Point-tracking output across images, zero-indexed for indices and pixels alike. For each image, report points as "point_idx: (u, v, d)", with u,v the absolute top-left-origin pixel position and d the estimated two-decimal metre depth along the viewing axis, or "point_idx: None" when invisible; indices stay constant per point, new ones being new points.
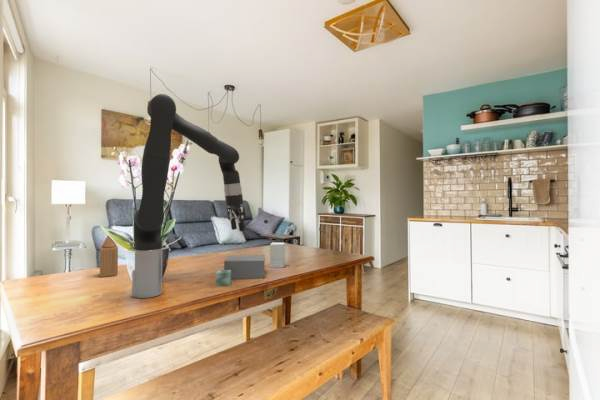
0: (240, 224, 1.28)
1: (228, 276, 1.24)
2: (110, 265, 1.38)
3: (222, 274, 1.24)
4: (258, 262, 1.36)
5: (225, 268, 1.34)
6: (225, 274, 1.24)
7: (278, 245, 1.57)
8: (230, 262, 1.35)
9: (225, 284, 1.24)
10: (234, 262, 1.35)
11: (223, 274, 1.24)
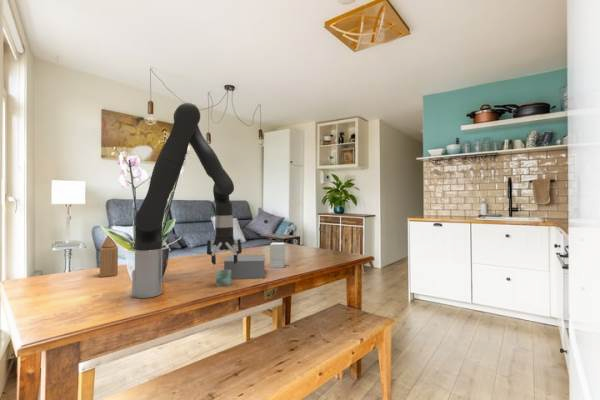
0: (236, 256, 1.27)
1: (228, 276, 1.24)
2: (110, 265, 1.38)
3: (222, 274, 1.24)
4: (258, 262, 1.36)
5: (225, 268, 1.34)
6: (225, 274, 1.24)
7: (278, 245, 1.57)
8: (230, 262, 1.35)
9: (225, 284, 1.24)
10: None
11: (223, 274, 1.24)
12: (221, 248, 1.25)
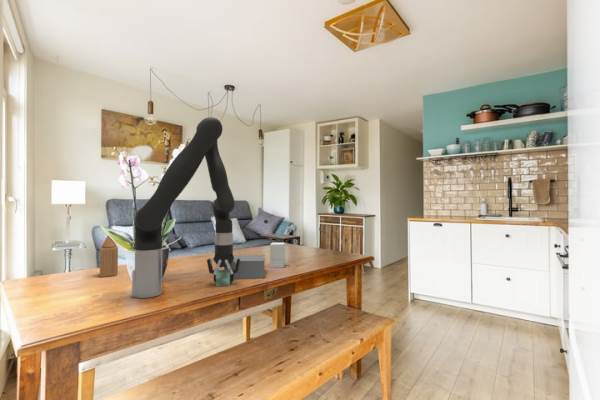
0: (232, 275, 1.26)
1: (228, 276, 1.24)
2: (110, 265, 1.38)
3: (222, 274, 1.24)
4: (258, 262, 1.36)
5: (225, 268, 1.34)
6: (225, 274, 1.24)
7: (278, 245, 1.57)
8: None
9: (225, 284, 1.24)
10: (234, 262, 1.35)
11: (223, 274, 1.24)
12: (222, 265, 1.25)
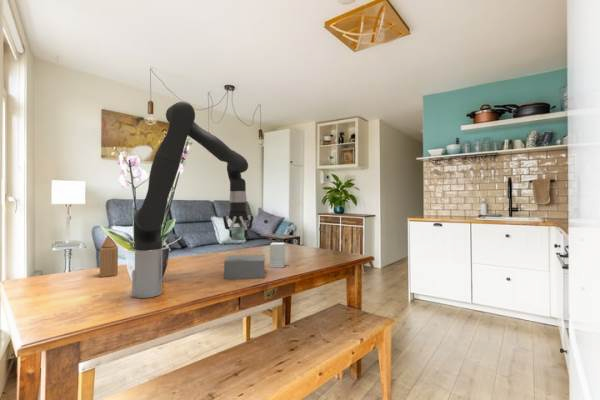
0: (246, 231, 1.36)
1: (243, 231, 1.34)
2: (110, 265, 1.38)
3: (237, 229, 1.33)
4: (258, 262, 1.36)
5: (225, 268, 1.34)
6: (240, 229, 1.33)
7: (278, 245, 1.57)
8: (230, 262, 1.35)
9: (240, 238, 1.34)
10: (234, 262, 1.35)
11: (238, 229, 1.33)
12: (236, 221, 1.35)
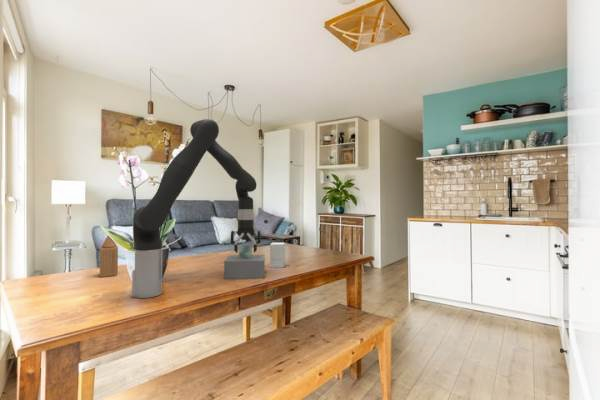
0: (255, 246, 1.43)
1: (249, 250, 1.41)
2: (110, 265, 1.38)
3: (244, 248, 1.41)
4: (258, 262, 1.36)
5: (225, 268, 1.34)
6: (247, 248, 1.41)
7: (278, 245, 1.57)
8: (230, 262, 1.35)
9: (247, 257, 1.41)
10: (234, 262, 1.35)
11: (245, 248, 1.41)
12: (243, 238, 1.42)
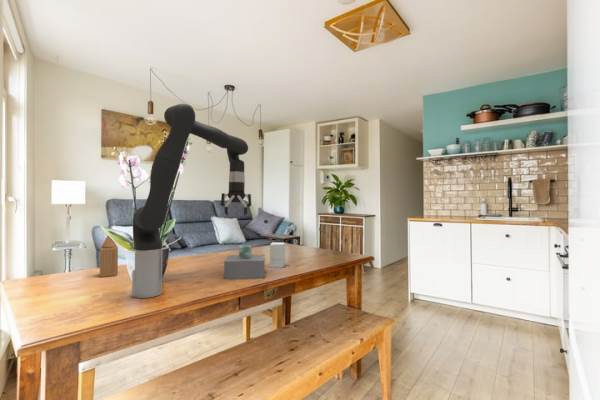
0: (246, 209, 1.43)
1: (249, 250, 1.41)
2: (110, 265, 1.38)
3: (244, 248, 1.41)
4: (258, 262, 1.36)
5: (225, 268, 1.34)
6: (247, 248, 1.41)
7: (278, 245, 1.57)
8: (230, 262, 1.35)
9: (247, 257, 1.41)
10: (234, 262, 1.35)
11: (245, 248, 1.41)
12: (233, 200, 1.43)
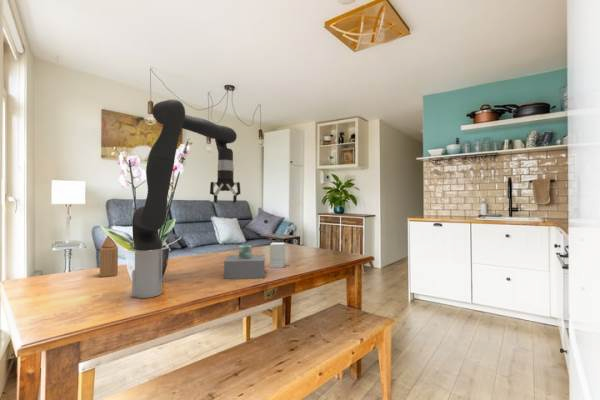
0: (235, 197, 1.44)
1: (249, 250, 1.41)
2: (110, 265, 1.38)
3: (244, 248, 1.41)
4: (258, 262, 1.36)
5: (225, 268, 1.34)
6: (247, 248, 1.41)
7: (278, 245, 1.57)
8: (230, 262, 1.35)
9: (247, 257, 1.41)
10: (234, 262, 1.35)
11: (245, 248, 1.41)
12: (222, 189, 1.43)
